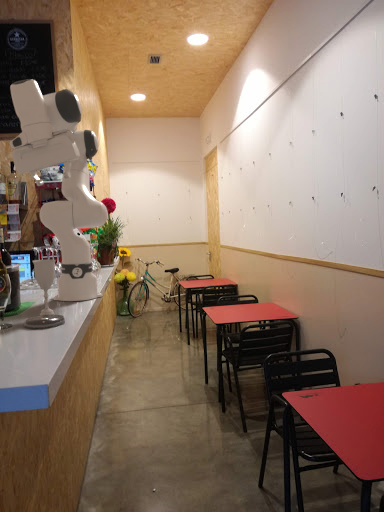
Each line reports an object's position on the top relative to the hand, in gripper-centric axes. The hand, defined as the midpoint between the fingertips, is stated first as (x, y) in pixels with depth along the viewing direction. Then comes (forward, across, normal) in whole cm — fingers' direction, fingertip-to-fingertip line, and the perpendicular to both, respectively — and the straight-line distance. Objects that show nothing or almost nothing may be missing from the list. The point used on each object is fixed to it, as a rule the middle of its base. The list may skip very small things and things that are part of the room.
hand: (54, 181), depth 117 cm
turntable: (+39, +8, +16) cm, 43 cm away
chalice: (+40, +13, +8) cm, 43 cm away
